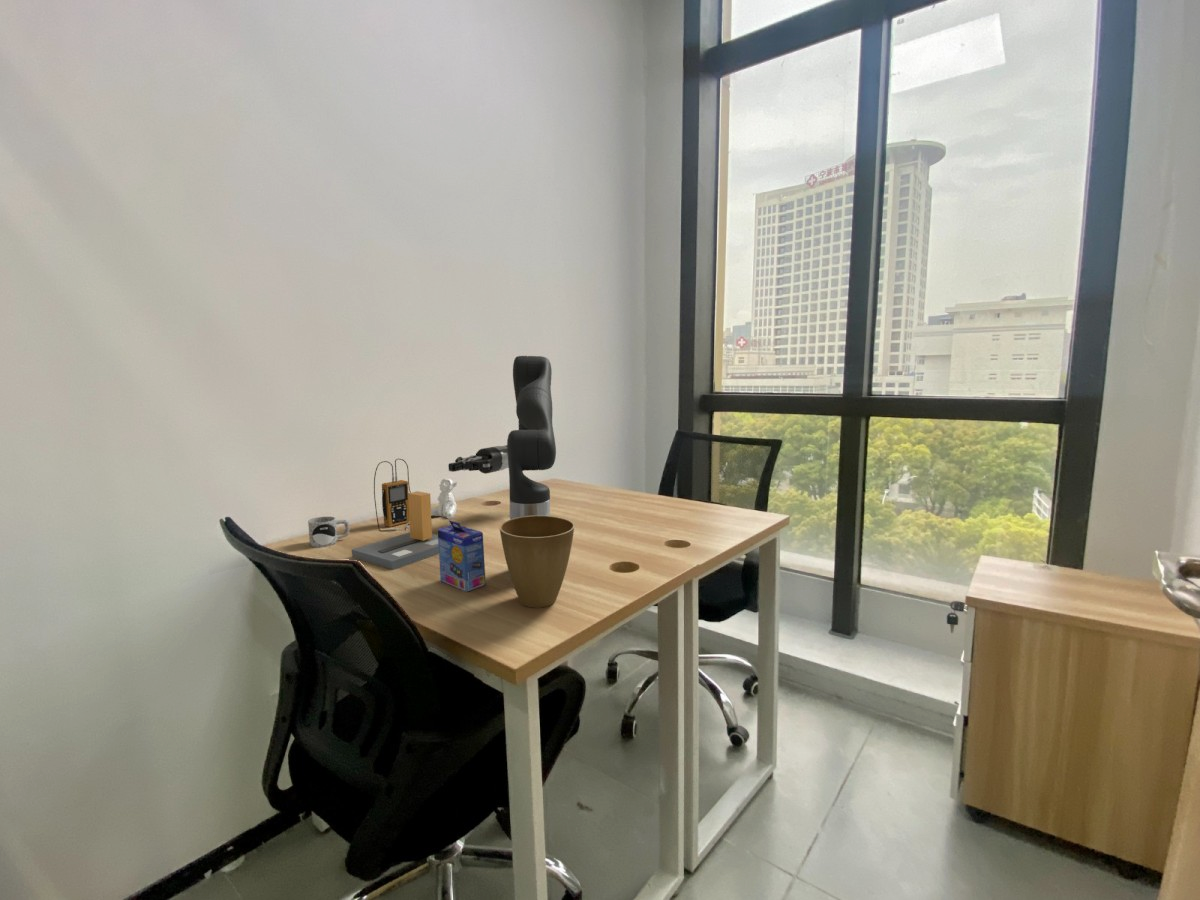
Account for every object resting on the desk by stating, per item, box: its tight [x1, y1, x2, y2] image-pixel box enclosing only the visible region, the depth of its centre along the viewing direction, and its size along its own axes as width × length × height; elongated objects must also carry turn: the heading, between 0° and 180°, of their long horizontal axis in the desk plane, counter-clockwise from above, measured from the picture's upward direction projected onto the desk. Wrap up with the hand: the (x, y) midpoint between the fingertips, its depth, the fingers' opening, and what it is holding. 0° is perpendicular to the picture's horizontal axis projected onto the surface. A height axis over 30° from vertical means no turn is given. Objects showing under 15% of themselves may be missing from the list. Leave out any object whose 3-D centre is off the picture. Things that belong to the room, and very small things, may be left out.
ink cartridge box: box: [437, 519, 487, 593], centre depth 122 cm, size 10×6×14 cm, turn 51°
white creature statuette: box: [431, 477, 458, 520], centre depth 180 cm, size 10×9×12 cm
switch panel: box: [351, 531, 439, 570], centre depth 144 cm, size 16×20×2 cm
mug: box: [307, 516, 350, 548], centre depth 152 cm, size 10×7×7 cm, turn 126°
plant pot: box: [499, 515, 575, 608], centre depth 113 cm, size 15×15×16 cm
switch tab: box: [408, 491, 433, 541], centre depth 147 cm, size 5×3×12 cm, turn 57°
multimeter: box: [373, 458, 412, 532], centre depth 166 cm, size 15×10×20 cm
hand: (450, 467), depth 155 cm, fingers closed
